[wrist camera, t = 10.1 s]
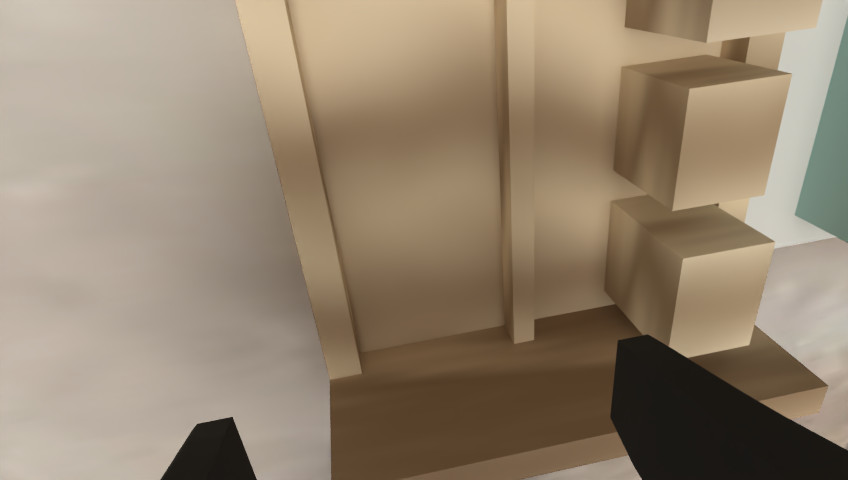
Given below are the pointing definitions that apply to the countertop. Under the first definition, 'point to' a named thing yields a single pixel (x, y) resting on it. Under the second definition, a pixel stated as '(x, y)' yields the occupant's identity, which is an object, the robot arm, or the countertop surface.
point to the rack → (470, 225)
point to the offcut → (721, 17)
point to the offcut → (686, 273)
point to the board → (830, 157)
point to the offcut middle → (698, 129)
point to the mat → (799, 127)
